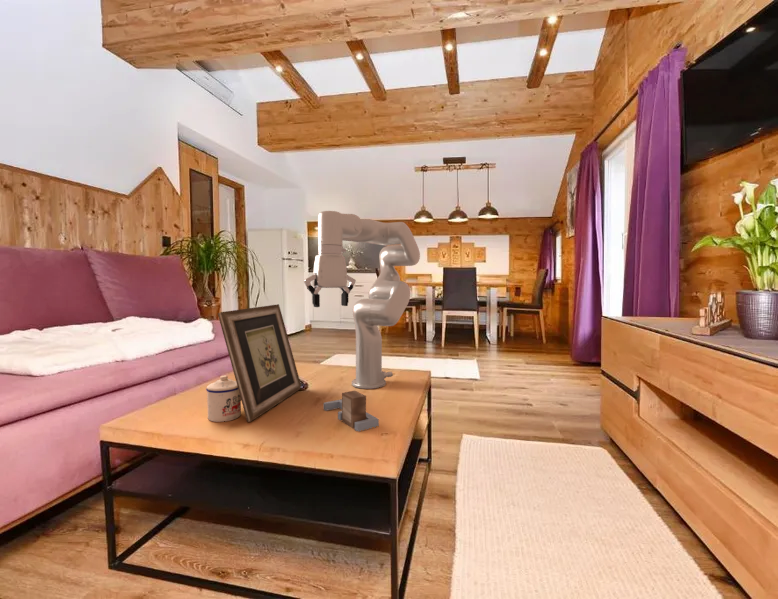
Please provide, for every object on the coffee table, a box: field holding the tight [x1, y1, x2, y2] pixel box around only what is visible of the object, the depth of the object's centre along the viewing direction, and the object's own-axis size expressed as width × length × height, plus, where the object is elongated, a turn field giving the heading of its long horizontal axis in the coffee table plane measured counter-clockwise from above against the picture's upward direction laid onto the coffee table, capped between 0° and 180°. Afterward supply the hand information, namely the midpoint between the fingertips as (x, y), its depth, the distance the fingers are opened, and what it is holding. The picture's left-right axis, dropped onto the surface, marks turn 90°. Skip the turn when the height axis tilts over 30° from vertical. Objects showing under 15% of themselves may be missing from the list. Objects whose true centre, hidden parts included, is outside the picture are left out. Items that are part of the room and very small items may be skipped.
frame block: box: [341, 390, 367, 429], centre depth 105 cm, size 4×6×8 cm
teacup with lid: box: [205, 375, 242, 423], centre depth 111 cm, size 12×9×12 cm
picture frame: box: [217, 304, 302, 423], centre depth 122 cm, size 33×10×30 cm, turn 168°
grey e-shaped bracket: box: [323, 398, 380, 432], centre depth 110 cm, size 6×20×2 cm, turn 34°
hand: (330, 306), depth 123 cm, fingers open, 9 cm apart
